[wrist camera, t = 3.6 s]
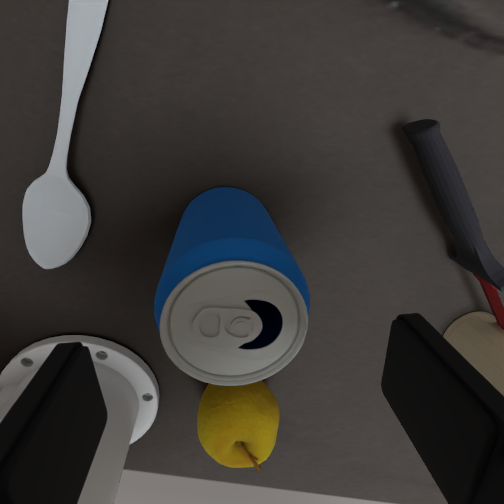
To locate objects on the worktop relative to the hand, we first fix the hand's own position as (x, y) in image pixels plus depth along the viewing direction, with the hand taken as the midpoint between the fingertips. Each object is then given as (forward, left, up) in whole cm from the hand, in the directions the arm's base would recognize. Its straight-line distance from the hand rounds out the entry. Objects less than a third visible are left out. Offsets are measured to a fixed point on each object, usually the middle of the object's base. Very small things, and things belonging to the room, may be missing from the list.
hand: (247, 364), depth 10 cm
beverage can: (0, 0, -14) cm, 14 cm away
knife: (+18, -4, -14) cm, 23 cm away
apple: (0, -14, -14) cm, 20 cm away
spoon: (-9, +8, -14) cm, 19 cm away
